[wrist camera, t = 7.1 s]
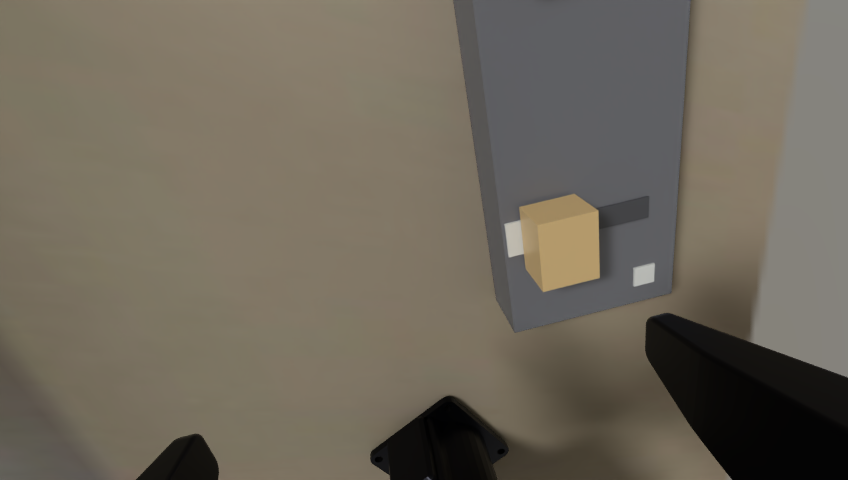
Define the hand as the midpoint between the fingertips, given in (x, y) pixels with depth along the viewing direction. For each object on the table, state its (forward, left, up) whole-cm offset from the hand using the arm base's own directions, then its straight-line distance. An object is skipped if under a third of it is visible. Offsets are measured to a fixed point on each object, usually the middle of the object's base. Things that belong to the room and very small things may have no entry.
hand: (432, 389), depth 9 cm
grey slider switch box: (-1, -9, -13) cm, 16 cm away
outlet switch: (-5, -4, -10) cm, 12 cm away
